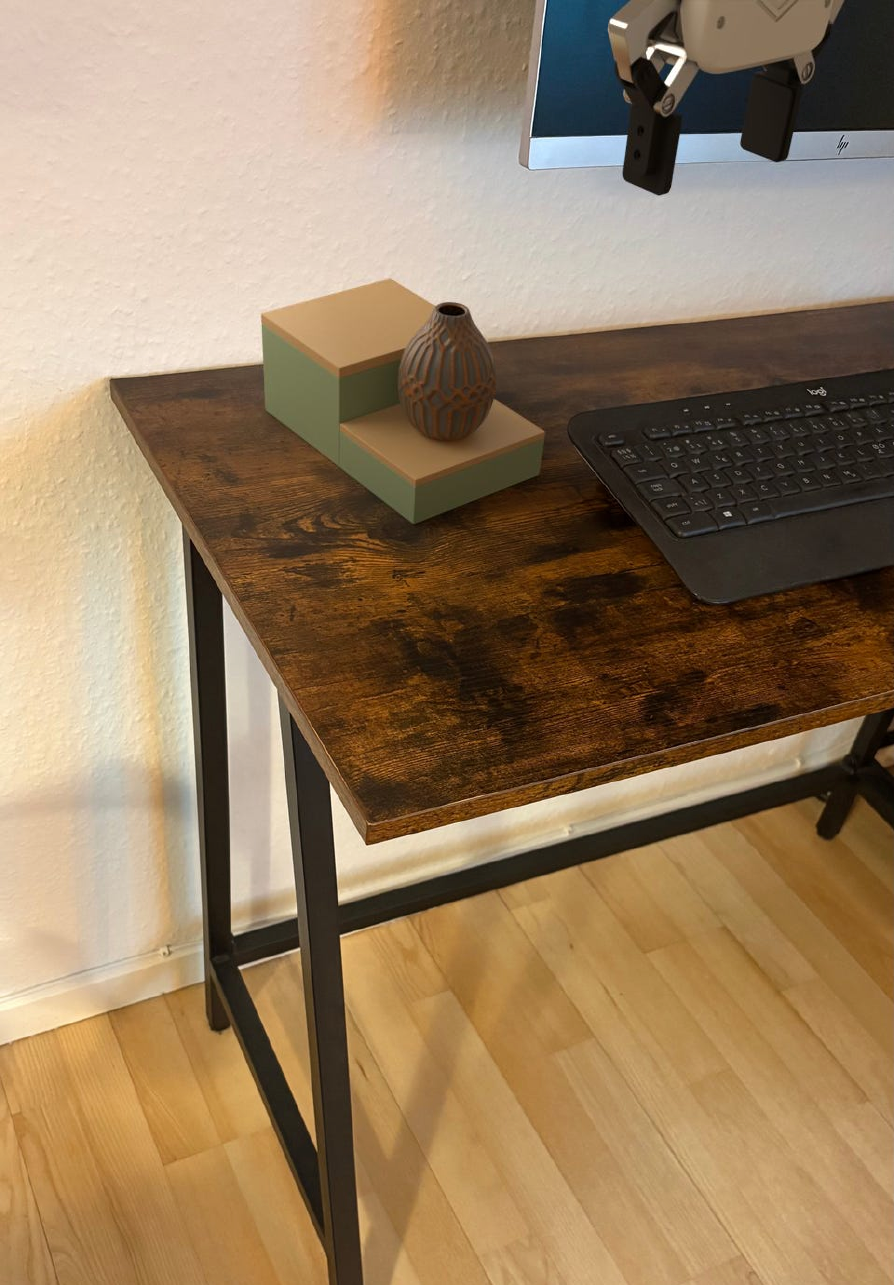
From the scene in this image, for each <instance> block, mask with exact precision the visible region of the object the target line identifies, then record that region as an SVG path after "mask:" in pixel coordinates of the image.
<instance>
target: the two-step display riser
mask: <svg viewBox="0 0 894 1285" xmlns="http://www.w3.org/2000/svg"><path fill="white" fill-rule="evenodd" d="M435 306H436V305H434V304H433V303H431V302H430V301H428V300H426V299H425V298H424V297H421V296H420V295H418V294H417V293H415V292H413V291H412V290H410V289H409V288H407V287H405V286H403V285H402V284H400V283H399V282H397V281H396V280H394V279H392V278H386V279H382V280H379V281H374V282H371V283H368V284H364V285H360V286H356V287H353V288H350V289H345V290H341V291H338V292H334V293H331V294H328V295H327V294H326V295H324V296H320V297H317V298H313V299H309V300H305V301H301V302H298V303H294V304H289V305H287V306H283V307H279V308H276V309H272V310H268V311H264V312H261V313H260V319H261V320H260V323H261V346H262V364H263V365H262V367H263V368H262V370H263V384H264V385H263V386H264V387H263V388H264V409H265V411H266V412H267V413H268V414H270V415H271V416H272V417H274V418H275V419H276V420H278V421H279V422H280V423H282V424H283V425H284V426H285V427H287V428H288V429H289V430H290V431H292V432H293V433H294V434H296V436H298V437H300V438H301V439H302V440H303V441H305V442H306V443H307V444H309V445H310V446H311V447H313V448H314V449H315V450H317V451H318V452H319V453H320V454H322V455H323V456H324V457H326V458H327V460H329V461H331V462H332V463H333V464H335V465H336V466H337V467H338V468H339V469H341V470H342V471H343V472H345V473H346V474H347V475H349V476H350V477H351V478H353V479H354V480H355V481H357V482H358V483H359V484H360V485H362V486H363V487H364V488H366V490H368V491H370V493H372V494H373V495H375V496H376V497H377V498H378V499H380V500H381V501H382V502H384V503H385V504H386V505H387V506H389V507H390V508H392V509H393V510H394V511H395V512H397V513H398V514H399V515H400V516H402V517H403V518H405V519H406V520H407V522H409V523H411V524H412V525H416V524H419V523H421V522H423V521H426V520H428V519H431V518H434V517H436V516H439V515H441V514H444V513H446V512H449V511H451V510H453V509H454V510H455V509H456V508H459V507H461V506H464V505H466V504H470V503H472V502H474V501H476V500H480V499H482V498H485V497H487V496H489V495H491V494H495V493H496V492H500V491H502V490H505V489H507V488H510V487H512V486H515V485H517V484H520V483H522V482H525V481H527V480H530V479H532V478H535V477H537V476H539V475H540V472H541V467H542V466H541V465H542V458H543V450H544V444H545V443H544V442H545V435H546V432H545V430H543V429H542V428H540V427H539V426H537V425H536V424H534V423H533V422H531V421H529V420H528V419H526V418H525V417H523V416H522V415H520V414H519V413H517V412H516V411H514V410H512V409H511V408H509V407H508V406H506V405H505V404H503V403H502V402H500V401H499V400H497V399H495V398H494V400H493V403H492V406H491V409H490V411H489V413H488V415H487V417H486V419H485V420H484V422H483V423H482V424H481V425H480V426H479V427H478V428H477V429H476V430H475V431H474V432H472V433H471V434H470V435H468V436H466V437H465V438H462V439H459V440H455V441H439V440H434V439H431V438H428V437H426V436H424V435H423V434H421V433H420V432H419V431H418V430H417V429H416V428H415V427H414V426H413V425H412V424H411V423H410V422H409V420H408V419H407V417H406V416H405V413H404V411H403V409H402V406H401V402H400V398H399V391H398V374H399V367H400V362H401V359H402V356H403V353H404V351H405V348H406V346H407V344H408V343H409V341H410V340H411V338H412V337H413V336H414V335H415V333H416V332H417V331H418V330H419V329H420V328H421V327H422V326H423V325H424V324H425V323H426V321H427V320H428V319H429V317H430V316H431V314H432V312H433V310H434V308H435Z"/></svg>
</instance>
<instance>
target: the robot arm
mask: <svg viewBox="0 0 894 1285" xmlns="http://www.w3.org/2000/svg"><path fill="white" fill-rule="evenodd" d="M844 2H845V0H629V1H628V2H626V3H625V5H623V6H622V7H621V8H620V10H618V11H617V12H616V13H615V14H613V16H612V17H611V18H610V19H609V22H608V27H607V33H608V37H609V42H610V47H611V51H612V55H613V60H614V61H615V62H614V67H613V71H614V75H615V77H616V78H617V80H618V82H619V84H620V85H621V87H622V89H623V99H624V101H625V102H626V103H627V104H631V106H630V113H629V120H628V129H627V134H626V135H627V136H626V143H625V150H624V158H623V163H622V164H623V165H622V172H621V173H622V178H623V180H624V181H625V182H626V183H628V184H631V185H633V186H635V187H638V188H640V189H642V190H644V191H647V192H649V193H651V194H652V195H653V194H654V195H655V196H657V197H658V196H663V195H666V194H669V192H670V191H671V189H672V185H673V178H674V173H675V167H676V160H677V155H678V147H679V142H680V136H681V129H682V124H683V120H682V118H683V115H682V114H679V113H677V112H674V111H675V109H676V108H677V106H678V104H679V103H680V102H681V100H682V98H683V96H684V95H685V93H686V91H687V90H688V88H689V87H690V85H691V84H692V81H693V80H694V78H695V77H696V75H697V73H698V72H699V70H701V71H703V72H705V73H708V74H711V75H712V74H713V75H720V74H727V73H731V72H737V71H741V70H746V69H750V68H751V69H752V68H755V67H759V66H760V67H761V66H762V68H763V70H764V71H761V70H758V71H754V72H753V78H752V79H751V86H750V90H749V94H748V100H747V105H746V110H745V115H744V121H743V126H742V130H741V135H740V141H739V144H740V147H741V148H742V150H744V151H746V152H748V153H751V154H754V155H756V156H759V157H761V158H764V159H766V160H768V161H771V162H774V163H781V162H784V161H786V160H787V159H788V157H789V155H790V149H791V145H792V141H793V137H794V131H795V128H796V123H797V119H798V113H799V109H800V104H801V100H802V96H803V90H804V87H805V85H806V84H808V83H809V82H810V80H811V79H812V78H813V76H814V73H815V69H816V63H815V60H816V59H817V57H818V56H819V54H820V53H821V52H822V50H823V49H824V47H825V46H826V44H827V43H828V41H829V40H830V37H831V35H832V34H831V33H832V25H833V24H834V22H835V20H836V18H837V16H838V14H839V12H840V10H841V9H842V6H843V4H844ZM831 24H832V25H831ZM665 64H668V65H672V66H673V67H672V69H671V71H670V72H669V74H668V75H667V77H666V79H665V80H664V81H663V79H662V77H661V75H660V73H661V71H662V70H663V68H664V67H665Z"/></svg>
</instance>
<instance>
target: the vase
mask: <svg viewBox="0 0 894 1285" xmlns="http://www.w3.org/2000/svg"><path fill="white" fill-rule="evenodd" d="M496 389H497V368H496V363H495V358H494V354H493V351H492V349H491V347H490V344H489V343H488V341H487V340H486V338H485V336H484V335H483V333H482V332H481V331H480V329H479V328H478V327H477V325H476V324H475V321H474V320H473V317H472V313H471V310H470V308H469V307H468V306H466V305H465V304H463V303H460V302H456V301H445V302H440V303H438V304H437V305H435V308H434V310H433V312H432V314H431V316H430V317H429V319H428V320H427V321H426V323H425V324H424V325H423V326H422V327H421V328H420V329H419V330H418V331H417V332H416V333H415V335H414V336H413V337H412V338H411V340H410V341H409V343H408V344H407V346H406V348H405V351H404V353H403V356H402V359H401V362H400V367H399V374H398V391H399V398H400V402H401V406H402V409H403V411H404V413H405V416H406V417H407V419H408V420H409V422H410V423H411V424H412V425H413V426H414V427H415V428H416V429H417V430H418V431H419V432H420V433H421V434H423V435H424V436H426V437H428V438H431V439H434V440H439V441H455V440H459V439H462V438H465V437H466V436H468V435H470V434H471V433H472V432H474V431H475V430H476V429H477V428H478V427H479V426H480V425H481V424H482V423H483V422H484V420H485V419H486V417H487V415H488V413H489V411H490V409H491V406H492V403H493V400H494V399H495V394H496Z"/></svg>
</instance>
